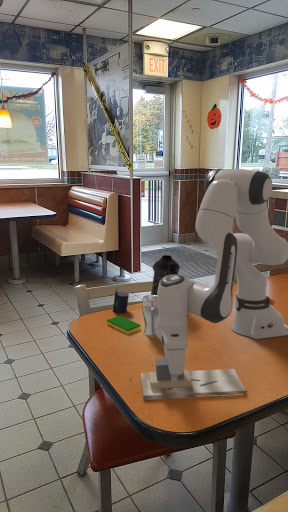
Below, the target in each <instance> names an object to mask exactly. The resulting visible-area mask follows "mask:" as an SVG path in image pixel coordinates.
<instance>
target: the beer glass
mask: <svg viewBox="0 0 288 512" xmlns="http://www.w3.org/2000/svg"><path fill="white" fill-rule="evenodd" d="M141 309H142V316H143V322H144V328H143V329H144V330H143V334H144V335H145V336H147V337H155V336H157V317H158V309H157V295H151V294H146V295H144V296H142V307H141Z"/></svg>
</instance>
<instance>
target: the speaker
mask: <svg viewBox="0 0 288 512" xmlns="http://www.w3.org/2000/svg"><path fill="white" fill-rule="evenodd" d="M118 289H119V287H118V286H116V288H115V291H114V292H115V293H114V301H113V309H112V312H113V313H114V311H116V312H117V313H122V314H123V313H126V312H127V309H128V304H129V298H130V297H129V296H130V295H129V293H127V292H125V291H118Z"/></svg>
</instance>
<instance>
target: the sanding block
mask: <svg viewBox="0 0 288 512" xmlns="http://www.w3.org/2000/svg"><path fill="white" fill-rule="evenodd" d="M188 371H189V370H188V369H184V371H183V374H182V375H178V377H177V382H173V383H172V382H171V375H170V372H169V368H168V364H167V360H166V357H163V358H161V357H158V358H155V371H149V372H148V373H149V380H150V387H151V389H158V388H175V387H191V379H190V376H189V373H188Z"/></svg>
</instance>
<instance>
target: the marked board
mask: <svg viewBox="0 0 288 512" xmlns="http://www.w3.org/2000/svg"><path fill="white" fill-rule="evenodd" d="M188 373H189V376H190V379H191V387H175V388H158V389H151V387H150V380H149V372H141V373H140V379H141V380H140V383H141V390H142V398H143V399H142V400H143V401H150V400H152V401H153V400H154V401H155V400H172V399H173V400H174V399H175V400H177V399H191V398H190V397H197V396H209V395H219V396H218V397H221V396H220V395H234V394H246V392H247V390H246V388H245V386H244V385H243V383H242V381H241V380H240V377H239V376H238V373H237V372H236V370H235V369H234V368H226V369H223V368H222V369H204V370H188ZM246 395H247V394H246ZM188 397H189V398H188ZM197 398H198V397H197Z"/></svg>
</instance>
